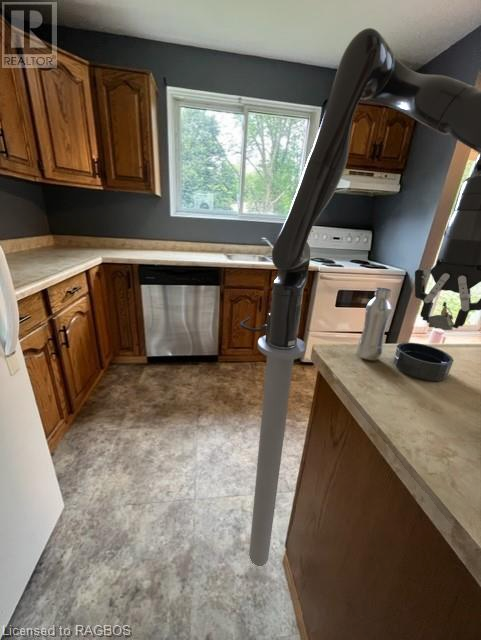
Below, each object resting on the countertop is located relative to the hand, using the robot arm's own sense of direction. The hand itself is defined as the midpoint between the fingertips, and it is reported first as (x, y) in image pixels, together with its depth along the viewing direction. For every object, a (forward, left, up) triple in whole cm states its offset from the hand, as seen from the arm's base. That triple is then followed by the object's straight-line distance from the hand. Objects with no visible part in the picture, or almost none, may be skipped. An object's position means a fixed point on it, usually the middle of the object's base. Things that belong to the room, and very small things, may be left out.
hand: (440, 323), depth 56 cm
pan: (-3, +13, -17) cm, 21 cm away
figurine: (0, 0, -2) cm, 2 cm away
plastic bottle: (-15, +9, -17) cm, 24 cm away
